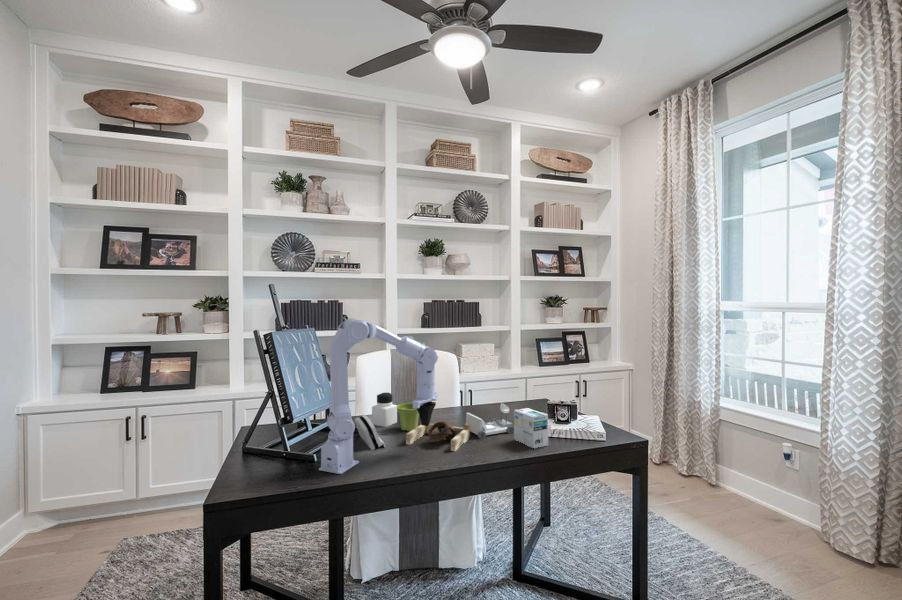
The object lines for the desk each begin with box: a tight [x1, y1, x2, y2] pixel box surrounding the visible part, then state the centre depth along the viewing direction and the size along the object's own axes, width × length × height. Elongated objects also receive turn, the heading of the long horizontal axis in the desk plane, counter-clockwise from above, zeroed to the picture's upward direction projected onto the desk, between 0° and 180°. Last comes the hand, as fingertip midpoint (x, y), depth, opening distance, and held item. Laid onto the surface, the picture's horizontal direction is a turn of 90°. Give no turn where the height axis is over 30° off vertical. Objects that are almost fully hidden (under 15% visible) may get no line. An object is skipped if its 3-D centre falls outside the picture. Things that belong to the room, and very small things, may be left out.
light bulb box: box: [513, 407, 549, 449], centre depth 155 cm, size 11×7×11 cm, turn 31°
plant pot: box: [397, 402, 420, 432], centre depth 170 cm, size 9×9×9 cm
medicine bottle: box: [371, 391, 398, 428], centre depth 177 cm, size 7×7×12 cm
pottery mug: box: [428, 420, 457, 444], centre depth 156 cm, size 12×10×8 cm
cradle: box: [405, 423, 471, 452], centre depth 156 cm, size 14×18×5 cm
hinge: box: [354, 414, 387, 451], centre depth 156 cm, size 17×5×10 cm, turn 25°
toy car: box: [462, 402, 514, 439], centre depth 168 cm, size 18×10×12 cm
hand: (425, 425), depth 146 cm, fingers closed
